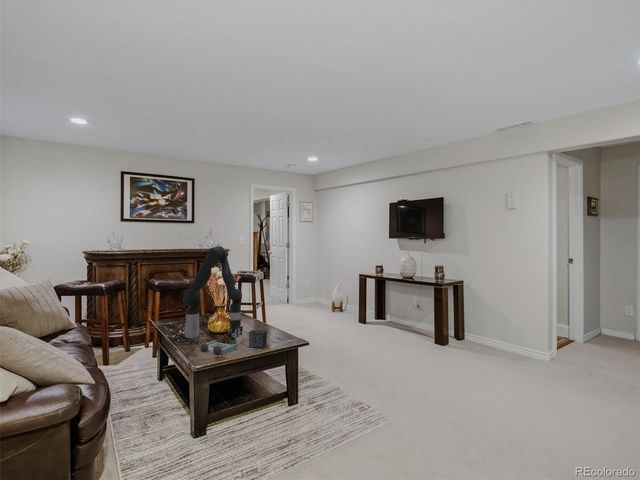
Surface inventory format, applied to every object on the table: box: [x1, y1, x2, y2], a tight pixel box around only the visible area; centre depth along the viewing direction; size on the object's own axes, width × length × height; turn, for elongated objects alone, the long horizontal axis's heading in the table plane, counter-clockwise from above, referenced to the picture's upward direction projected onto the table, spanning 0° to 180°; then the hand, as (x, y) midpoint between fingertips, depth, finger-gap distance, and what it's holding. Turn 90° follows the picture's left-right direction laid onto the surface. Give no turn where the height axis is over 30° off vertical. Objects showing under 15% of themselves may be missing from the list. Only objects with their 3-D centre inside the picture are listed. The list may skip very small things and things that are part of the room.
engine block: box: [229, 335, 242, 346], centre depth 244 cm, size 6×4×5 cm
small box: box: [248, 329, 268, 350], centre depth 237 cm, size 11×6×10 cm, turn 77°
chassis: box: [199, 337, 238, 356], centre depth 231 cm, size 20×16×5 cm
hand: (235, 342), depth 244 cm, fingers closed on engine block, 4 cm apart
